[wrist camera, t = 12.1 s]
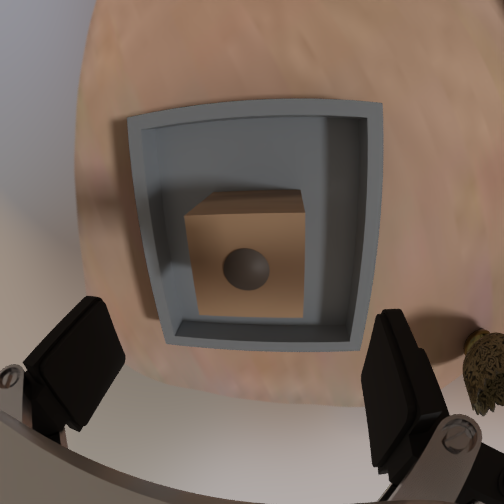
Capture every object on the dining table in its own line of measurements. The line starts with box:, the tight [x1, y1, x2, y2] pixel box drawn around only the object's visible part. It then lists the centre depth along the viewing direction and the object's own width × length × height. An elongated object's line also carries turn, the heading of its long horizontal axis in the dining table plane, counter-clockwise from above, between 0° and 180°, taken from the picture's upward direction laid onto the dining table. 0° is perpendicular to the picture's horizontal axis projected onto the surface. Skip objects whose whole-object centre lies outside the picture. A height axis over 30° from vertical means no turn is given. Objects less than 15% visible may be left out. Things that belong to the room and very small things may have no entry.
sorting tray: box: [127, 99, 383, 352], centre depth 20 cm, size 18×16×3 cm
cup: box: [463, 329, 504, 416], centre depth 19 cm, size 8×7×8 cm
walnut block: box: [184, 190, 305, 318], centre depth 18 cm, size 6×6×6 cm
